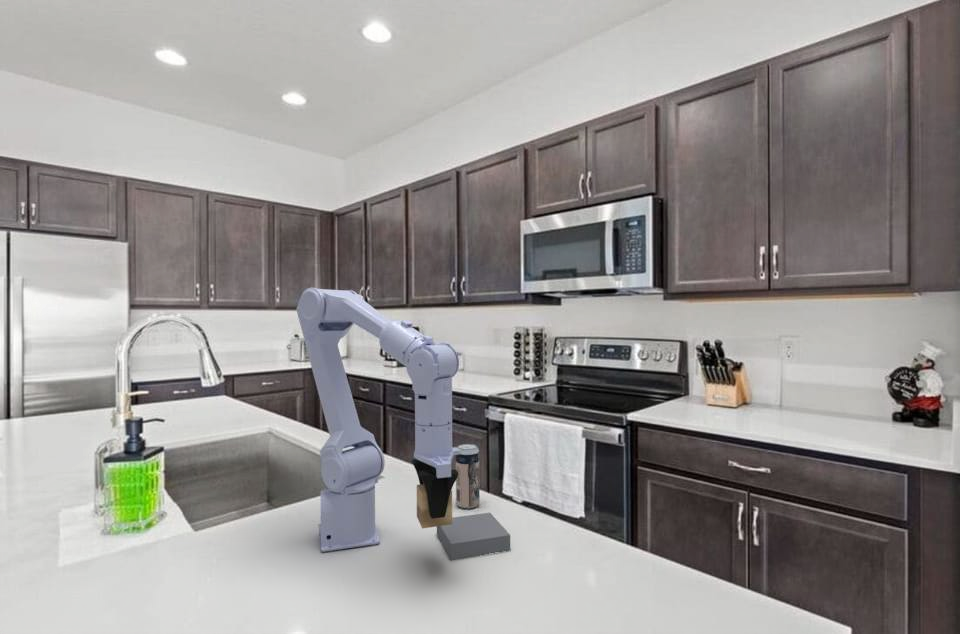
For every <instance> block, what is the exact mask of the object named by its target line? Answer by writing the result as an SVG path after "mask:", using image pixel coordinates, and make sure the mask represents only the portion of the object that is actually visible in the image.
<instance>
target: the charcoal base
mask: <svg viewBox="0 0 960 634" xmlns="http://www.w3.org/2000/svg"><path fill="white" fill-rule="evenodd" d="M436 535H437V537H438V539H439V541H440V543H441V545H442V547H443V548H444V550H445V552H446V554H447V555H448V557H449V559H450V561H457V560H462V559H463V560H464V559H468V558H475V557H481V556H480V555H482V556H486V555H485V554H488V555H490V554H489V553H494V554H496V553H495V552H500V553H504V552H503V551H506V552H510V551H511V534H510V533H509V531H507V529H505V527H504V526H503V525H502V524H501V523H500V522H499V521H498V520H497V519H496V518H495V517H494V515H493V514H492V513H491V512H483V513H476V514H470V515H460V516H454V517H453V516H452V525H444V526H437V527H436ZM509 550H510V551H509Z"/></svg>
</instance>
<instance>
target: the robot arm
mask: <svg viewBox="0 0 960 634" xmlns="http://www.w3.org/2000/svg"><path fill="white" fill-rule="evenodd" d="M296 314H297V317H298V321H299V324H300V329H301V332H302V335H303V338H304V344H305V347H306V352H307V355H308V360H309V363H310V366H311V369H312V370H311V371H312V374H313V378H314V381H315V385H316V390H317V393H318V396H319V400H320V404H321V407H322V411H323V415H324V419H325V423H326V426H327V427H326V428H327V430H328V433H329V436H328V437H329V438H328V439H327V440H326V442H325V443H324V444H323V446H322V447H321V448H320V450H319V454H320V460H321V478H322V480H323V482H324V485H326V487H327V489H322V490H320V523H318V536H320V552H322V553H323V552H324V553H325V552H332V551H338V550H343V549H350V548H359V547H364V546H365V547H366V546H372V545H378V544H379V543H380V542H381V540H380V536H379V532H378V529H377V525H376V484H378V483H379V476H381V474H383V472H384V469H385V456H384V453H383V451H382V449H381V448H380V446H379V445H378V444H377V441H376V438H375V435H374V434H373V433H372V432H370V431H369V430H367V429H365V428H364V427H362V425H361V423H360V419H359V416H358V412H357V409H356V406H355V401H354V398H353V394H352V391H351V387H350V384H349V380H348V376H347V373H346V370H345V366H344V363H343V359H342V355H341V352H340V349H339V348H340V347H339V343H340V340H341V339H342V338H344V337H345V336H346V335H347V334H348V332H349V331H350V329H351V328H352V327H353V326H354V325H356V326H357V327H359V328H360V329H363V330H364V331H366V332H368V333H369V334H371V335H372V336H374V337H376V338H377V339H379V342H378V343H379V346H380V348H381V350H382V351H384V352H385V353H386V354H388V356H390V357H391V358H393V359H394V360H396V361H397V362H399V363H400V364H402V366H404V367H406V372H407V375H408V377H409V378H410V380H411V384H412V386H411V387H412V391H413V393H414V448H415V449H414V451H413V458H414V459H412V460H411V463H412V465H413V467H414V469H415V472H416V474H417V479H418V482H419V485H420V484H424V486H425V490H426V494H427V501H428V508H429V513H430V516H431V518H432V519H434V518H441V517H445V514H446V510H447V506H448V501H449V496H450V493H451V490H452V489H453V487H454V485H455V484H456V479H457V477H458V472H457V470H456V468H455V469H452V461H453V458H454V456H456V455H459V454H460V450H459V449H458V447H456V446H455V447H453V377H455V376H456V375H457V372H458V371H459V367H460V358H459V354H458V353H457V351H456V349H455V348H453V346H451V344H450V343H447V342H439V343H435V341H433V340H434V338H433V337H432V336H431V335H425V334H423V333H422V332H420V331H418V330H417V329H415V328H414V327H413V325H414V324H413V322H411V321H410V320H399V319H398V320H395V321H391V320H390V319H389V318H387V317H386V316H385V315H383V314H382V313H381V312H379V311H378V310H377V309H376V308H374V307H373V306H372V305H371V304H369V303H368V302H367V301H365V298H364V296H363V295H361V294H359V293H357V292H356V291H354V290H352V289H345V290H340V289H326V288H325V289H324V288H317V287H308V288H306V289H305V290H304V291H303V292H302V294H301V295H300V299H299V300H298V304H297V307H296ZM349 447H350V448H349ZM351 447H352V448H351ZM346 448H348V449H346Z"/></svg>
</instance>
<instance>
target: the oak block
mask: <svg viewBox="0 0 960 634" xmlns="http://www.w3.org/2000/svg"><path fill="white" fill-rule="evenodd" d="M416 518H417V520H418V522H419V525H420V527H421V529H428V528H434V527H436V528H437V526H444V525H452V518H453V490H452V489H451V493H450V496H449V501H448V506H447V510H446V514H445V517H441V518H434V519H432V518H431V516H430V513H429V508H428V501H427V494H426V490H425V486H424V484H420V483H419V484H416Z"/></svg>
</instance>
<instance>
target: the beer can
mask: <svg viewBox="0 0 960 634" xmlns="http://www.w3.org/2000/svg"><path fill="white" fill-rule="evenodd" d="M457 448H458V449H459V450H460V454H459V455H455V469H456V470H457V472H458V477H457V479H456V481H455V505H456V506H458V507H459V508H461V509H465V510H466V509H467V510H469V509H470V510H471V509H474V508H476V507H477V506H479V505H480V450H479V448H478V446H477V445H476V444H472V443H471V444H470V443H465V444H459V445H458V446H457Z"/></svg>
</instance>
